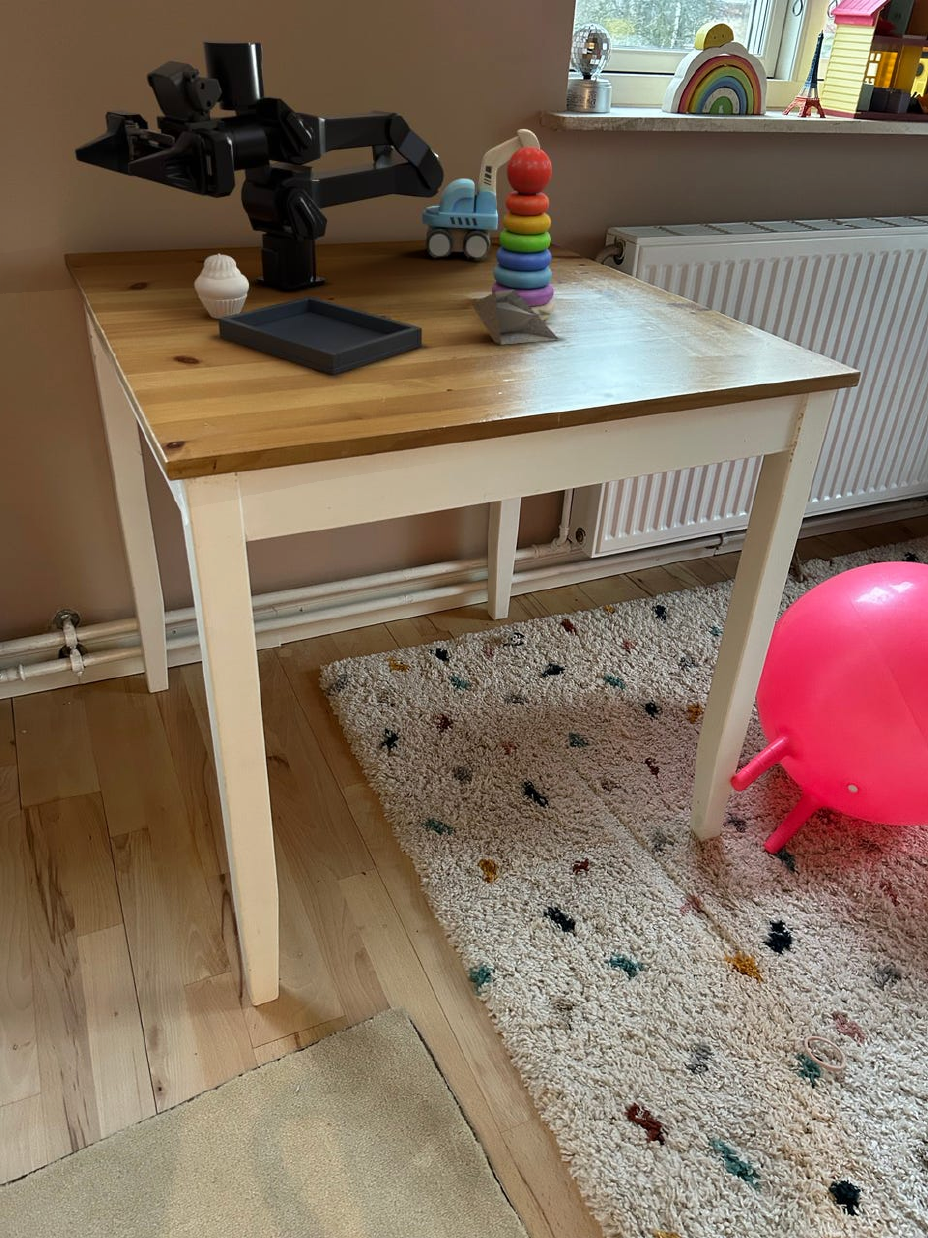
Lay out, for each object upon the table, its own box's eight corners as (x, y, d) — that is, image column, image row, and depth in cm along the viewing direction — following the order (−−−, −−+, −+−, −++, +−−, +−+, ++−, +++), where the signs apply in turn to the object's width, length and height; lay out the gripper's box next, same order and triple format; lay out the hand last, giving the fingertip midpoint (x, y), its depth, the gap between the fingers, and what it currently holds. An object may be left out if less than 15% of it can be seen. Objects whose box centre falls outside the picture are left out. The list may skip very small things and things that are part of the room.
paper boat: (523, 313, 113) (587, 308, 107) (511, 365, 113) (574, 363, 107) (458, 268, 104) (524, 259, 98) (445, 324, 104) (510, 319, 98)
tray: (310, 314, 114) (309, 296, 112) (422, 346, 105) (422, 327, 103) (219, 337, 104) (217, 318, 103) (333, 375, 95) (332, 354, 94)
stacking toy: (484, 306, 120) (493, 140, 109) (547, 307, 120) (561, 142, 110) (491, 324, 113) (501, 149, 103) (557, 325, 114) (574, 152, 103)
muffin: (223, 305, 115) (217, 244, 111) (262, 314, 112) (257, 252, 109) (186, 316, 110) (178, 253, 107) (226, 326, 108) (220, 262, 104)
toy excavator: (533, 264, 140) (543, 134, 131) (420, 259, 140) (422, 128, 130) (530, 251, 147) (539, 127, 138) (423, 246, 147) (424, 121, 138)
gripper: (159, 55, 109) (34, 63, 99) (270, 74, 100) (146, 84, 90) (172, 161, 116) (56, 178, 105) (277, 188, 107) (162, 209, 96)
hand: (102, 161), depth 99 cm, fingers open, 9 cm apart
